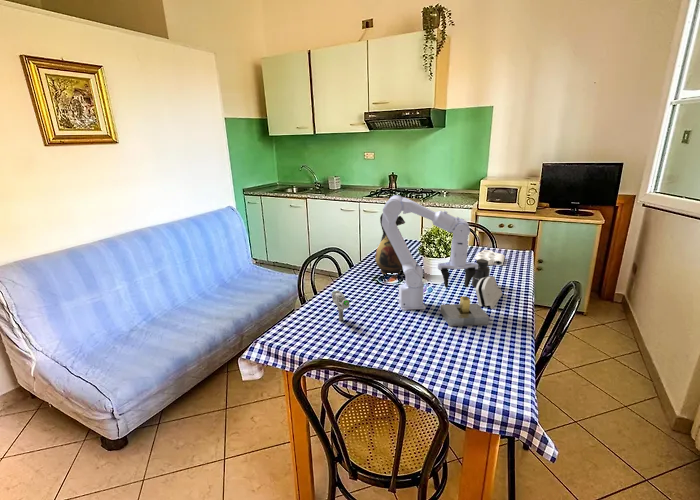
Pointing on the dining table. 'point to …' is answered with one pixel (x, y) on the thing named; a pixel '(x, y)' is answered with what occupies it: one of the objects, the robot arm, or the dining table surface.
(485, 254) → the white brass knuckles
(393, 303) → the dining table surface
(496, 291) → the white angular device
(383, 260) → the ceramic jug
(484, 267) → the supplement bottle
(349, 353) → the dining table surface
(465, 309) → the wood grain block
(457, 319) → the grey slotted plate
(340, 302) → the mechanical component
